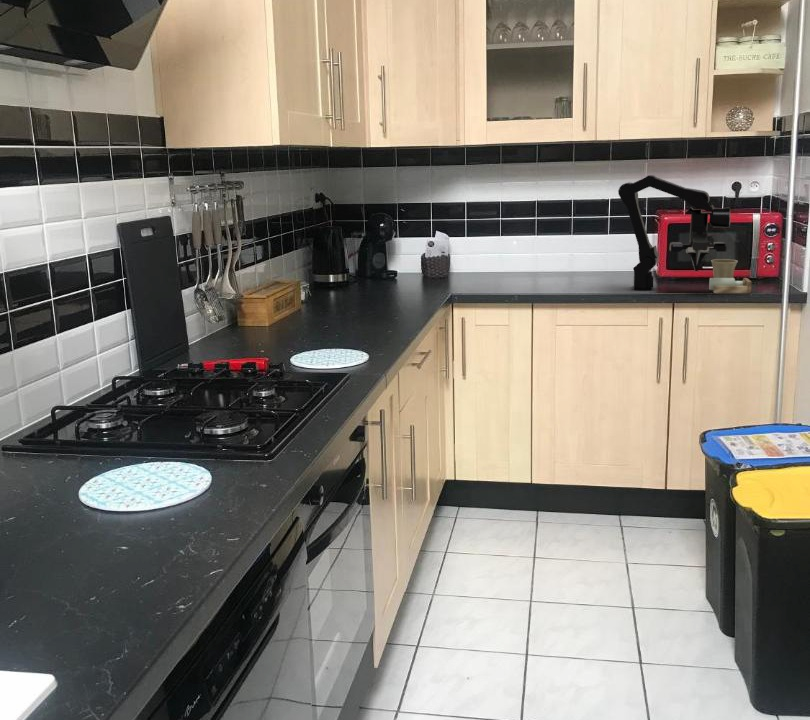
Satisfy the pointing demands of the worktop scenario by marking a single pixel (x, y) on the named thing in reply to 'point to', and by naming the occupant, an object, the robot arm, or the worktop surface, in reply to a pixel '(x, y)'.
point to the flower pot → (723, 268)
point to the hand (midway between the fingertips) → (696, 271)
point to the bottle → (724, 282)
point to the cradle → (734, 288)
